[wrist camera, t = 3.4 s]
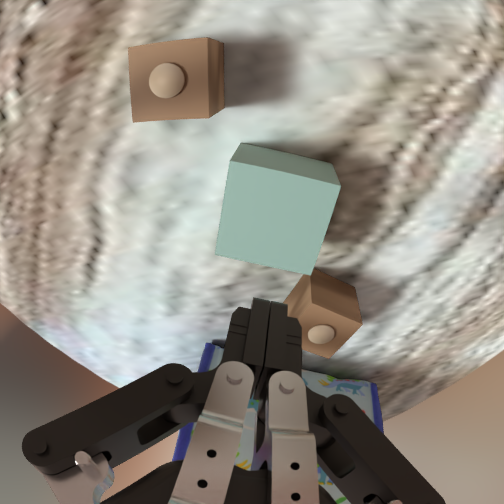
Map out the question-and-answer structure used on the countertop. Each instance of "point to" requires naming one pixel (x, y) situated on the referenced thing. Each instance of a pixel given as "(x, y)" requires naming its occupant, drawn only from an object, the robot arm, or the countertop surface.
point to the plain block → (276, 208)
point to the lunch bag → (317, 382)
